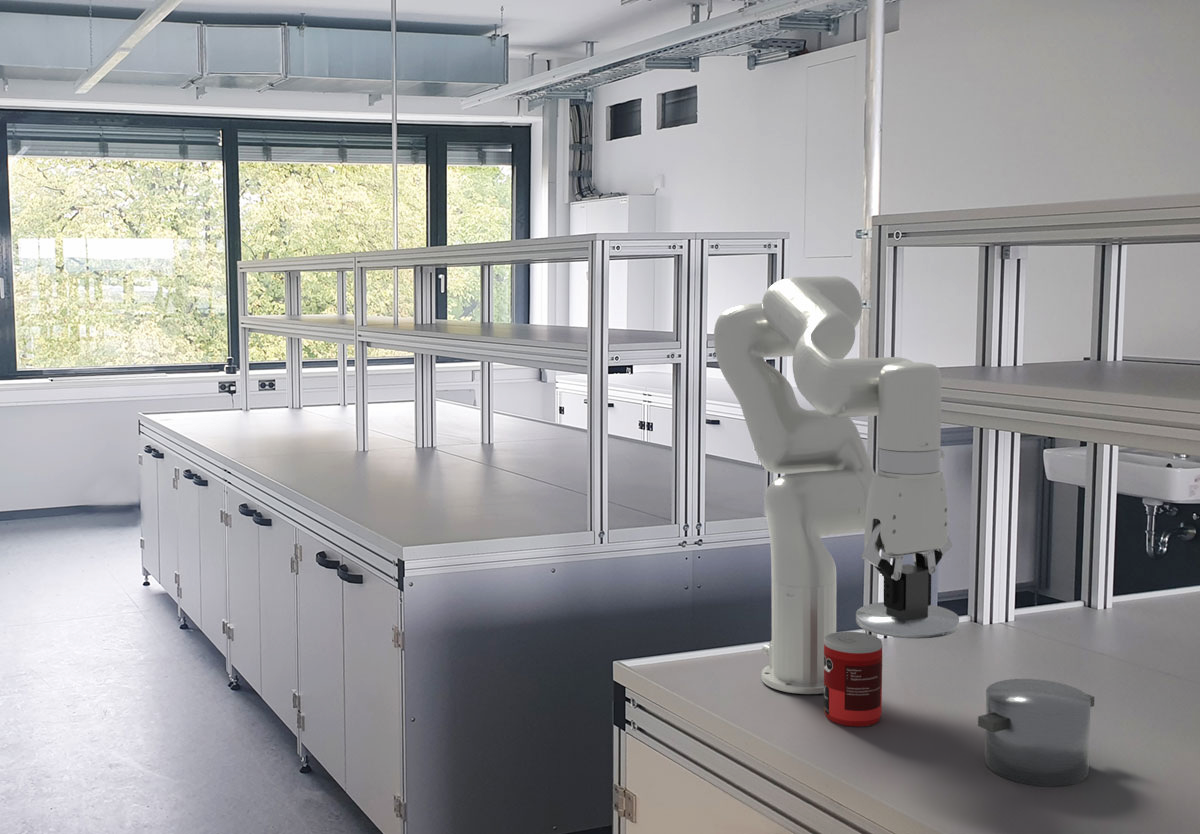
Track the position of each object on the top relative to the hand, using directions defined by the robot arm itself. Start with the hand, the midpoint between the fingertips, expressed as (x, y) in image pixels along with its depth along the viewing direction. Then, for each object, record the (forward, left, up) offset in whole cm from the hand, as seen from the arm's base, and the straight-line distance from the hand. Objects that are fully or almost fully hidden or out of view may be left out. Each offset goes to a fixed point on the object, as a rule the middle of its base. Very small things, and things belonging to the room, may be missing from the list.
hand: (907, 604), depth 150 cm
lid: (0, 0, -2) cm, 2 cm away
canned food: (-12, +2, -19) cm, 23 cm away
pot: (+12, +11, -19) cm, 25 cm away
